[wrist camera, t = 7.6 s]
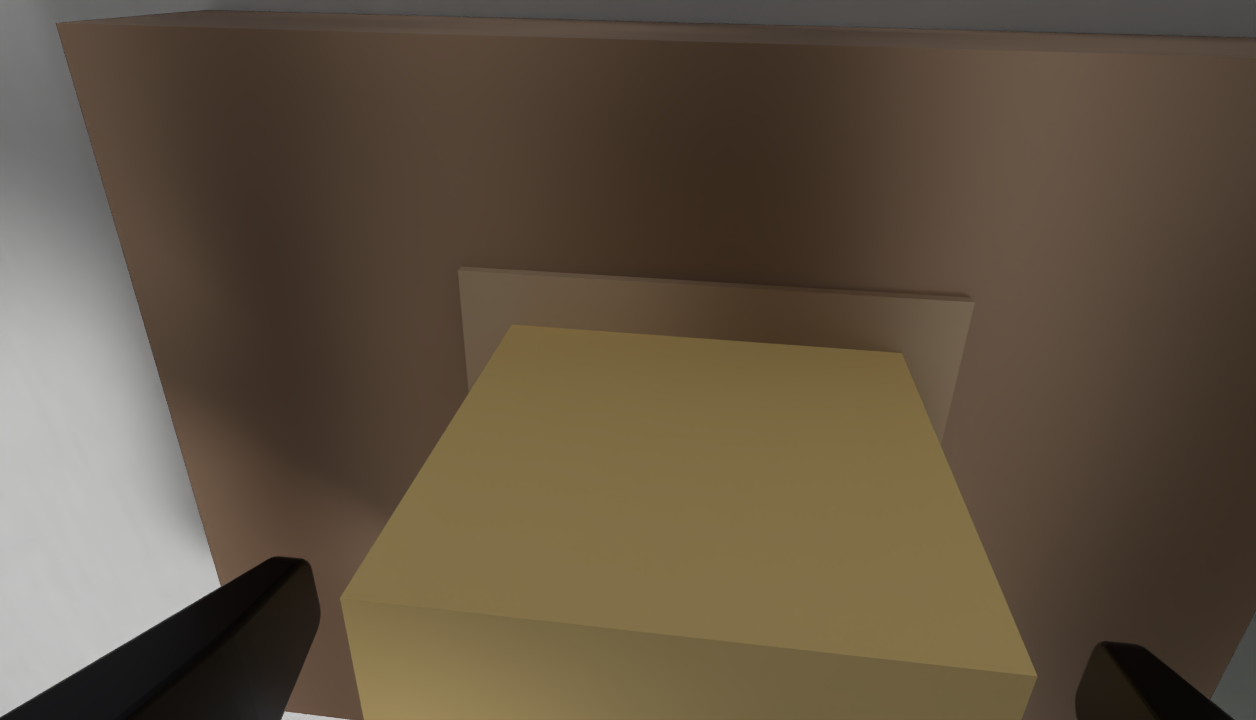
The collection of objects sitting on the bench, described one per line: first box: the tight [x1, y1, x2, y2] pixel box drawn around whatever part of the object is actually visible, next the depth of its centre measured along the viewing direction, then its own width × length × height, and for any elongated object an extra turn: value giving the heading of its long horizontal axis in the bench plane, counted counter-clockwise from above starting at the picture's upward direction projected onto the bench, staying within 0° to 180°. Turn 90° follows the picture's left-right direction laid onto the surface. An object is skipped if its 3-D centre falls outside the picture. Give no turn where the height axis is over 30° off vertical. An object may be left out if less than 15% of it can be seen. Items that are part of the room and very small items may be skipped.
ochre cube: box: [340, 325, 1038, 720], centre depth 9 cm, size 5×5×5 cm
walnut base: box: [56, 10, 1256, 720], centre depth 13 cm, size 16×12×3 cm
